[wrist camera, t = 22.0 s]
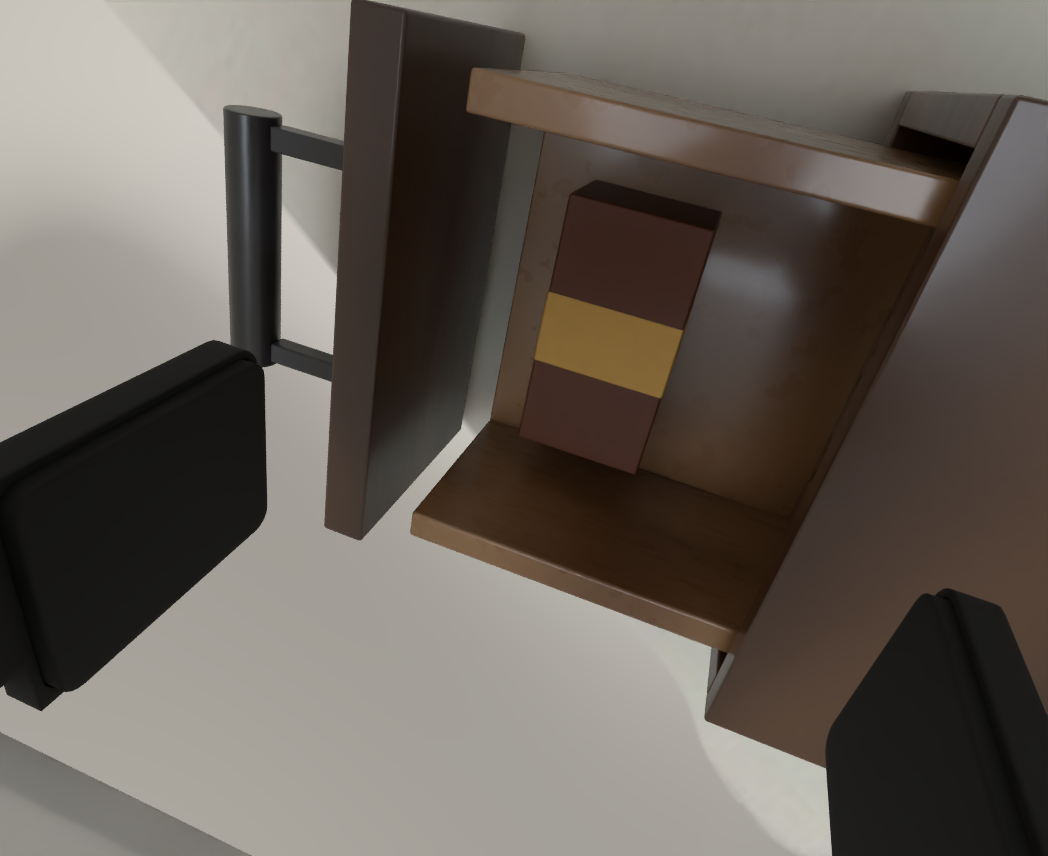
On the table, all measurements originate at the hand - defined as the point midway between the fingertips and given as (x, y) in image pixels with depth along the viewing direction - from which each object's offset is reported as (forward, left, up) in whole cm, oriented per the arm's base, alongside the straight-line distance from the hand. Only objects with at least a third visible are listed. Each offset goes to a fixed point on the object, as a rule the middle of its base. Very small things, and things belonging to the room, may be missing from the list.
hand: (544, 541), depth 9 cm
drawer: (+1, -3, -13) cm, 13 cm away
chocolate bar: (+1, -1, -12) cm, 12 cm away
